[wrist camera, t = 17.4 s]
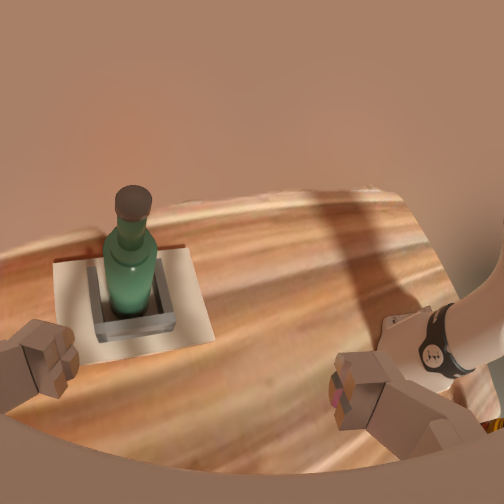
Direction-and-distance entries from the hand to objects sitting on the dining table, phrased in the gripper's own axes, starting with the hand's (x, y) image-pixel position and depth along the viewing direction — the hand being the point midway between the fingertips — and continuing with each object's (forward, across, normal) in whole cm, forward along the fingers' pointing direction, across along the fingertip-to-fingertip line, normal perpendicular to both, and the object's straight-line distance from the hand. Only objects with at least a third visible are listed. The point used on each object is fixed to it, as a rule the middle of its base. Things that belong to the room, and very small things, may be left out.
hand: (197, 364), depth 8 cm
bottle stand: (+27, +14, +13) cm, 33 cm away
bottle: (+26, +13, +12) cm, 32 cm away
